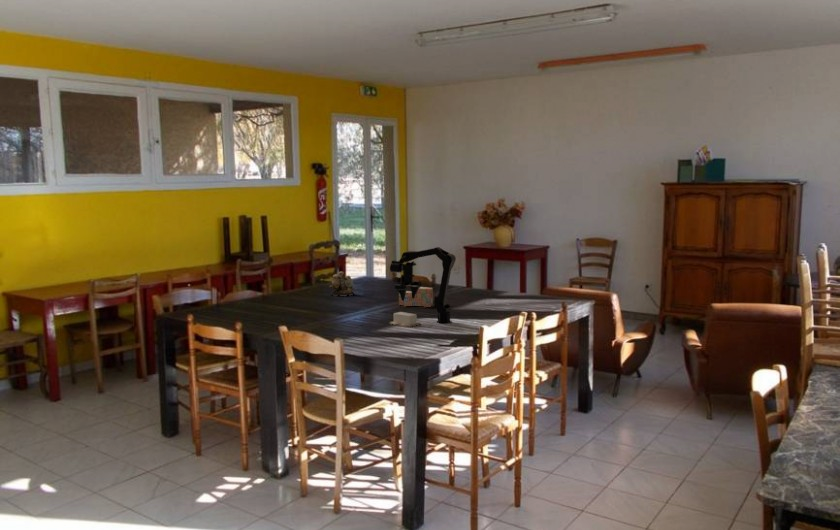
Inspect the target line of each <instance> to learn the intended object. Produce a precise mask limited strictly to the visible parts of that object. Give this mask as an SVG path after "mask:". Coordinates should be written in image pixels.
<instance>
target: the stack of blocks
mask: <svg viewBox="0 0 840 530" xmlns="http://www.w3.org/2000/svg"><path fill="white" fill-rule="evenodd" d="M433 302H434V288H433V287H428V286H426V287H425V286H420V288H419V289H418V291H417V293H416V295H415V297H414V299H412V293H411V290H406V294H405V299H404V301H402V299H401V296H400V293H399V292H398V306H399V305H404V306H403V307H406V306H424V307H423V308H426V307H431V306H432V305H433V306H434V303H433ZM433 306H432V307H433ZM432 307H431V308H432Z"/></svg>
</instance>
